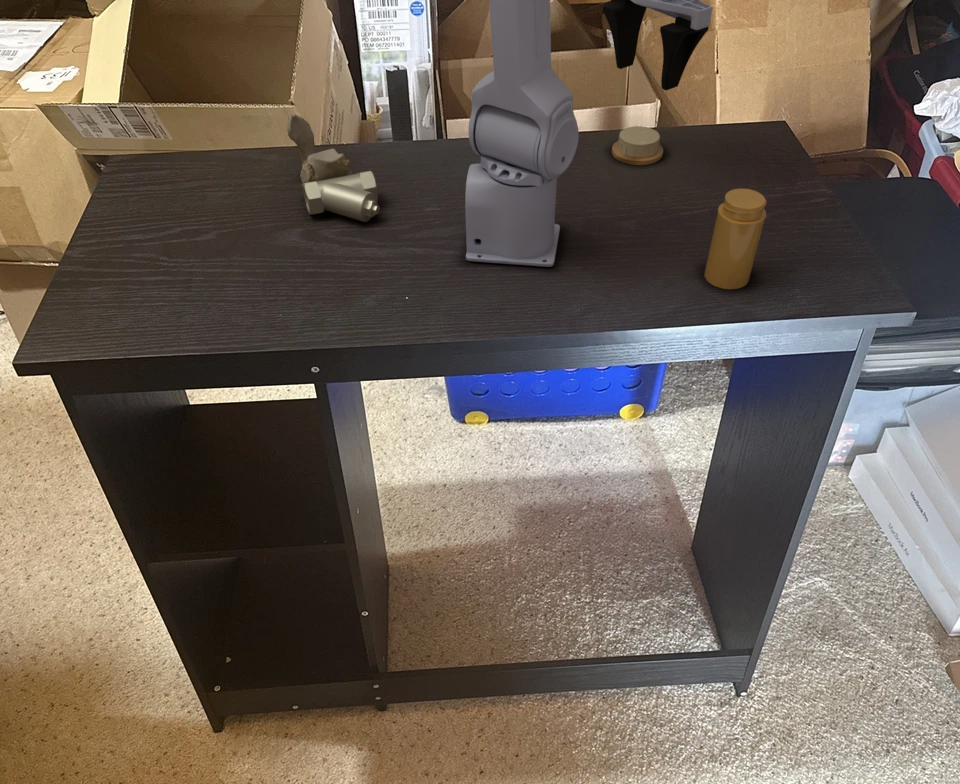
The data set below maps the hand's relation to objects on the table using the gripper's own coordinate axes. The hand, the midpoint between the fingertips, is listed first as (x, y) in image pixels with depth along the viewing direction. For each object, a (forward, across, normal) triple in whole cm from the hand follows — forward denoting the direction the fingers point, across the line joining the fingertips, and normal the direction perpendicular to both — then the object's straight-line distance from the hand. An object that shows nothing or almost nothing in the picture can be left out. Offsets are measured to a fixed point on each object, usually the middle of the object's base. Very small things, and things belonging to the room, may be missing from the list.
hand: (646, 76), depth 98 cm
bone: (+10, +17, +36) cm, 40 cm away
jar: (+9, -26, +11) cm, 29 cm away
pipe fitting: (+10, +10, +37) cm, 39 cm away
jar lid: (+8, 0, 0) cm, 8 cm away
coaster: (+9, 0, 0) cm, 9 cm away
